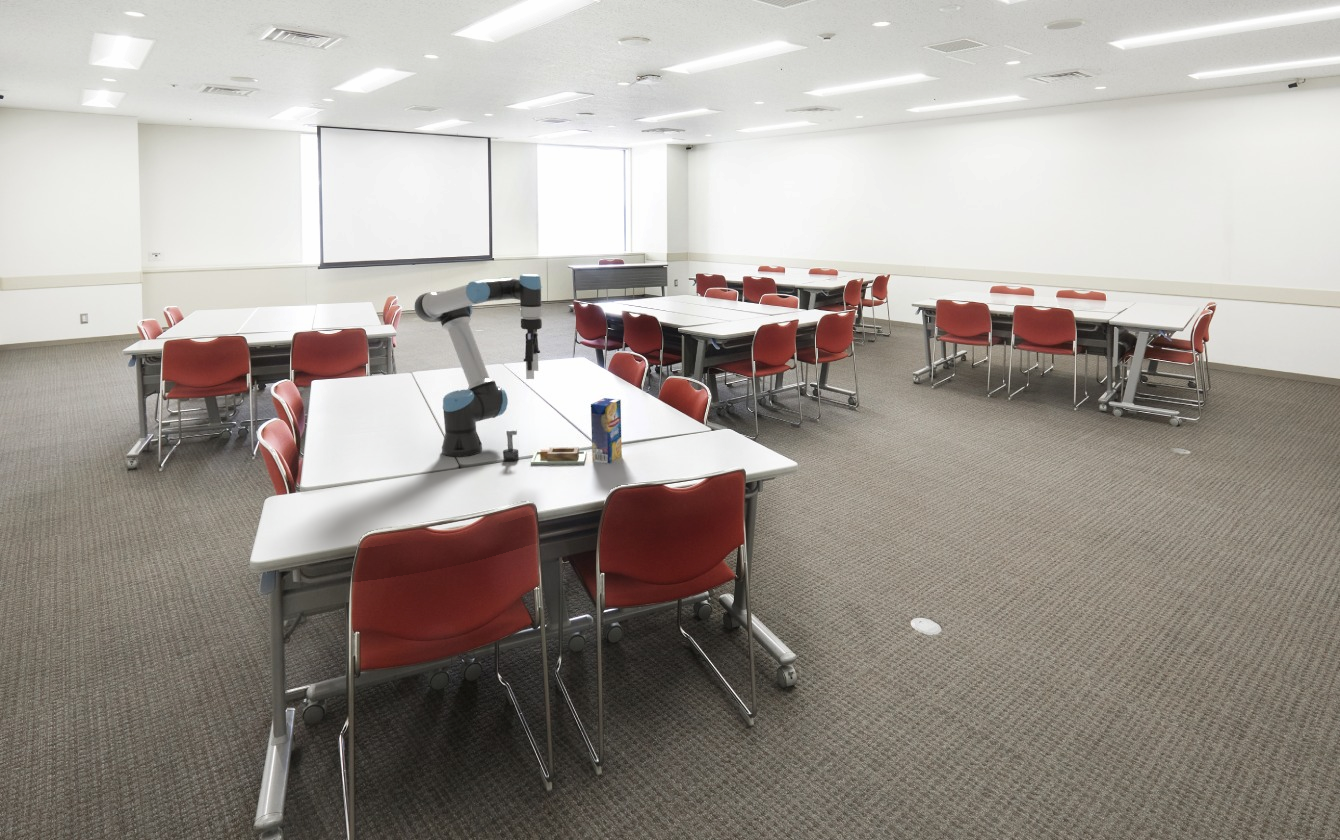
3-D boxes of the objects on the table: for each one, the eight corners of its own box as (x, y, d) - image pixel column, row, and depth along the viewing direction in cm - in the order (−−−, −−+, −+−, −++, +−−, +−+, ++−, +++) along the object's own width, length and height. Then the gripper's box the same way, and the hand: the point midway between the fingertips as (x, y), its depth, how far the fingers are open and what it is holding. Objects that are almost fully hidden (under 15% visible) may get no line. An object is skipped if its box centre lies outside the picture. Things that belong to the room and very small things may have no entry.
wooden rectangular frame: (578, 454, 285) (578, 447, 285) (577, 460, 278) (576, 453, 277) (542, 455, 285) (541, 447, 284) (539, 461, 278) (539, 453, 277)
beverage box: (621, 455, 286) (620, 399, 281) (608, 463, 277) (607, 406, 271) (605, 453, 289) (604, 398, 283) (592, 461, 279) (590, 404, 274)
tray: (530, 465, 275) (530, 461, 275) (535, 454, 288) (535, 451, 287) (584, 464, 276) (584, 461, 275) (586, 453, 288) (586, 450, 288)
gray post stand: (502, 462, 278) (500, 432, 275) (504, 457, 284) (503, 428, 281) (517, 461, 279) (515, 432, 276) (519, 457, 284) (518, 428, 281)
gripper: (525, 312, 283) (526, 367, 289) (515, 322, 259) (517, 382, 265) (545, 312, 284) (546, 367, 290) (537, 323, 260) (538, 382, 266)
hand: (532, 374), depth 277 cm, fingers open, 13 cm apart
